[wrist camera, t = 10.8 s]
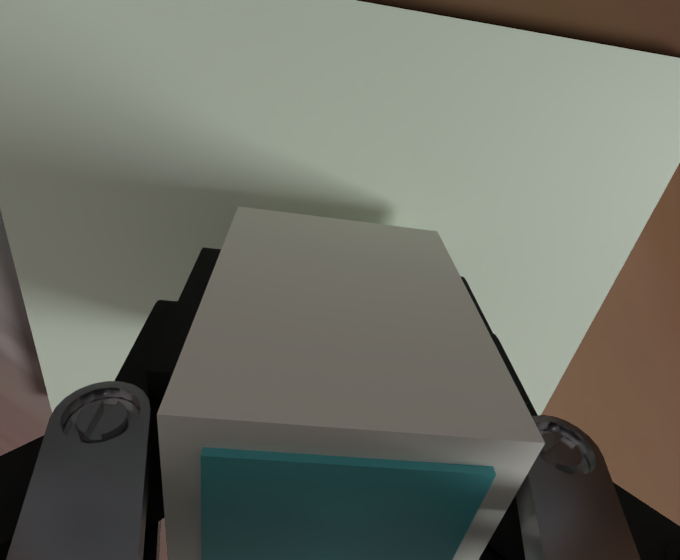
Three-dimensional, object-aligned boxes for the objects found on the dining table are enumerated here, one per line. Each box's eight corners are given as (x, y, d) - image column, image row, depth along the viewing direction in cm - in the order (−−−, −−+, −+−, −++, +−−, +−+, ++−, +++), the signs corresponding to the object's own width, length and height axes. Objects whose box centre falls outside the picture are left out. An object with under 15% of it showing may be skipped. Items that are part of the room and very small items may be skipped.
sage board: (-37, -70, 9) (-74, -77, 8) (699, 61, 11) (732, 67, 10) (69, 398, 16) (54, 422, 15) (509, 431, 18) (519, 453, 17)
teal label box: (238, 206, 10) (153, 422, 5) (437, 231, 11) (549, 451, 6) (231, 362, 13) (169, 619, 7) (395, 376, 13) (446, 627, 8)
